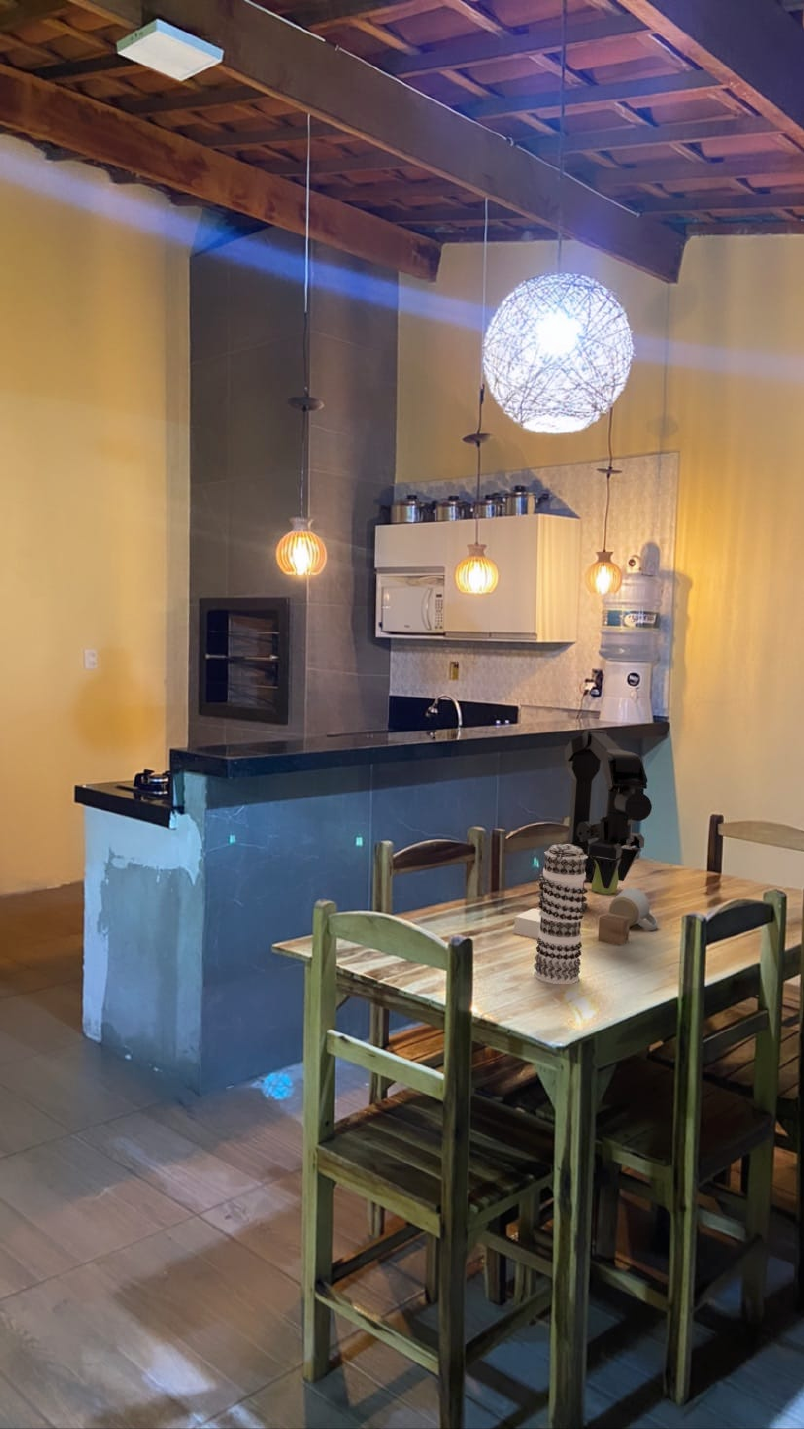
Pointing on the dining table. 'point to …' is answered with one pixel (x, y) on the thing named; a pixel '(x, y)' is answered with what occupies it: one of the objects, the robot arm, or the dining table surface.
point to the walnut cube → (614, 929)
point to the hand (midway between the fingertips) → (613, 884)
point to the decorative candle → (561, 914)
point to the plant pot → (598, 885)
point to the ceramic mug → (633, 908)
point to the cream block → (528, 923)
